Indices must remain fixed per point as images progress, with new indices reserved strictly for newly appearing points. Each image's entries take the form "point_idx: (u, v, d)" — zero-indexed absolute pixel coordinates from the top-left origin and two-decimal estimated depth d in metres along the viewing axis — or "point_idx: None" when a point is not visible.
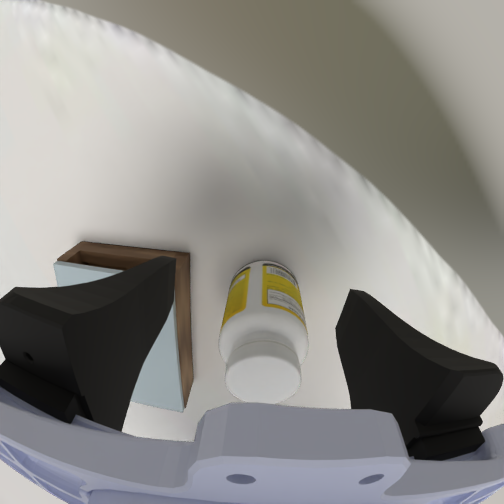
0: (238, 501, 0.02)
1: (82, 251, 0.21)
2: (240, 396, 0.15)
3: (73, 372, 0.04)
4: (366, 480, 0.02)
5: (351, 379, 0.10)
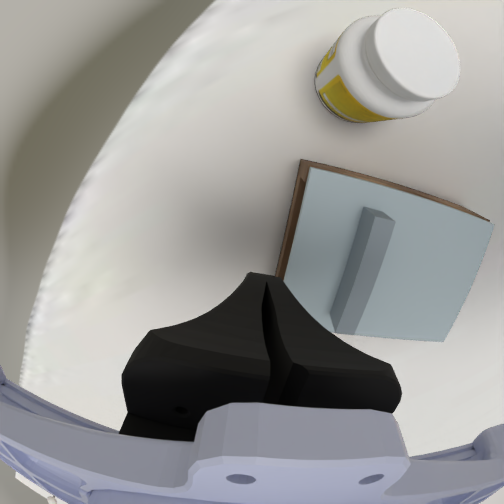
0: (238, 501, 0.02)
1: None
2: (447, 88, 0.08)
3: None
4: (366, 480, 0.02)
5: None
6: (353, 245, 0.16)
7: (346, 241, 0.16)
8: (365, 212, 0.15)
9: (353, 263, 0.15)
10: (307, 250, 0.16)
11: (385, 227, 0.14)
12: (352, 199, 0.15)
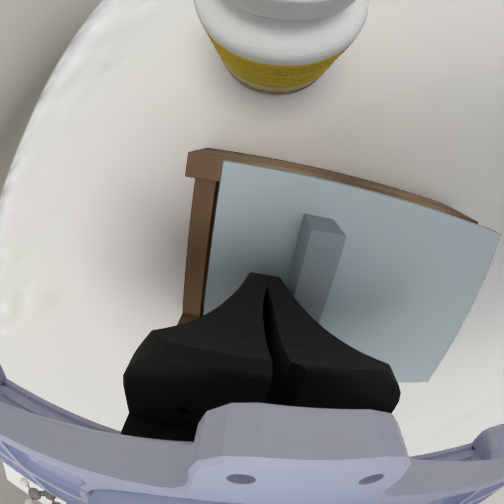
0: (238, 501, 0.02)
1: (184, 309, 0.16)
2: None
3: None
4: (366, 480, 0.02)
5: None
6: (291, 269, 0.12)
7: (282, 262, 0.12)
8: (304, 221, 0.11)
9: None
10: (227, 274, 0.12)
11: (329, 245, 0.09)
12: (286, 203, 0.11)
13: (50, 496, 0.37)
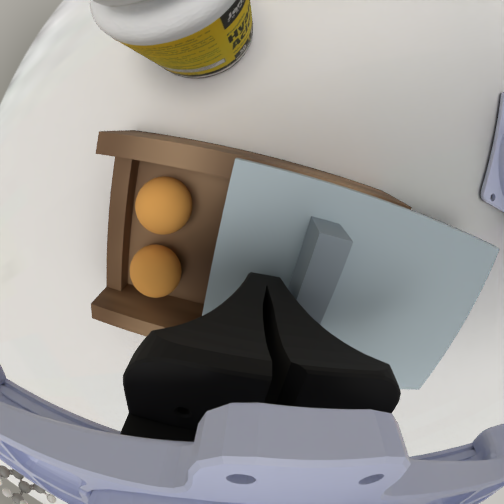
0: (238, 501, 0.02)
1: (107, 283, 0.16)
2: None
3: None
4: (366, 480, 0.02)
5: None
6: (294, 270, 0.12)
7: (285, 263, 0.12)
8: (311, 224, 0.11)
9: None
10: (230, 272, 0.12)
11: (336, 249, 0.09)
12: (295, 205, 0.11)
13: (18, 475, 0.36)
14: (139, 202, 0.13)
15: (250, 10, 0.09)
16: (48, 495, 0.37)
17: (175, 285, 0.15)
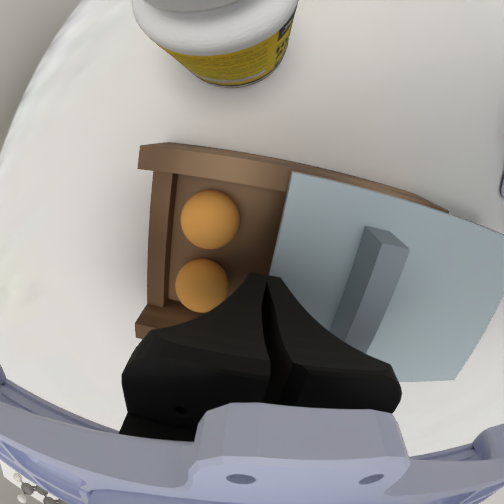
0: (238, 501, 0.02)
1: (148, 300, 0.16)
2: None
3: None
4: (366, 480, 0.02)
5: None
6: (350, 278, 0.12)
7: (341, 272, 0.12)
8: (367, 233, 0.11)
9: (349, 302, 0.11)
10: (288, 284, 0.12)
11: (395, 258, 0.10)
12: (350, 216, 0.11)
13: (42, 491, 0.37)
14: (186, 217, 0.13)
15: None
16: None
17: (224, 298, 0.15)
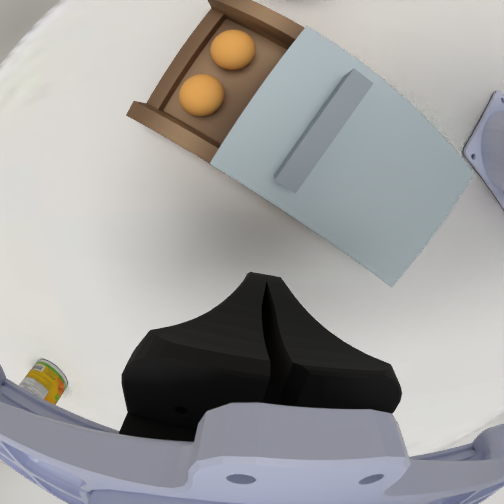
0: (238, 501, 0.02)
1: (149, 100, 0.17)
2: None
3: None
4: (366, 480, 0.02)
5: None
6: (322, 105, 0.14)
7: (317, 99, 0.14)
8: (344, 76, 0.13)
9: (318, 114, 0.13)
10: (275, 92, 0.14)
11: (361, 83, 0.12)
12: (335, 64, 0.13)
13: None
14: (220, 36, 0.14)
15: None
16: None
17: (215, 107, 0.16)
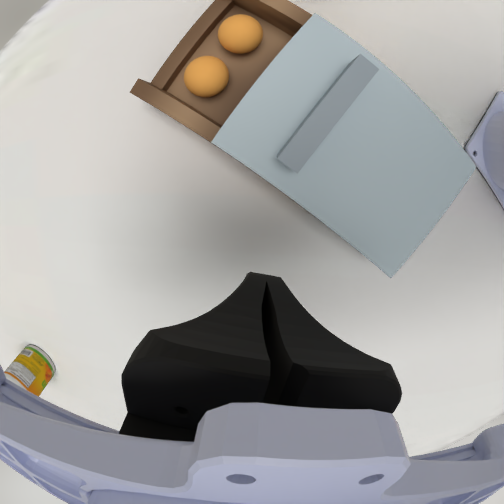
0: (238, 501, 0.02)
1: (153, 80, 0.16)
2: None
3: None
4: (366, 480, 0.02)
5: None
6: (327, 89, 0.14)
7: (322, 84, 0.14)
8: (350, 62, 0.13)
9: (323, 96, 0.13)
10: (280, 74, 0.14)
11: (367, 68, 0.11)
12: (341, 51, 0.13)
13: None
14: (228, 19, 0.13)
15: None
16: None
17: (219, 88, 0.16)
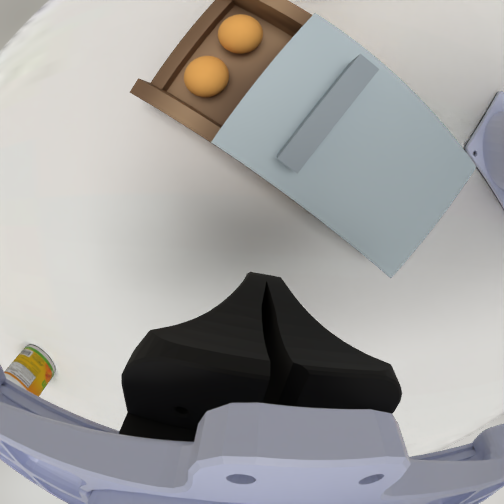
0: (238, 501, 0.02)
1: (153, 80, 0.16)
2: None
3: None
4: (366, 480, 0.02)
5: None
6: (327, 89, 0.14)
7: (322, 84, 0.14)
8: (350, 62, 0.13)
9: (323, 96, 0.13)
10: (280, 74, 0.14)
11: (367, 68, 0.11)
12: (341, 51, 0.13)
13: None
14: (228, 19, 0.13)
15: None
16: None
17: (219, 88, 0.16)
